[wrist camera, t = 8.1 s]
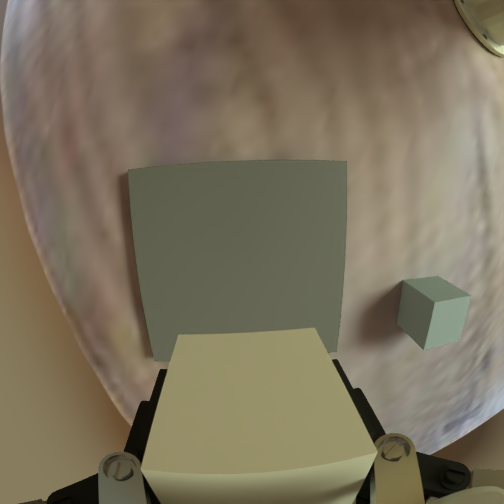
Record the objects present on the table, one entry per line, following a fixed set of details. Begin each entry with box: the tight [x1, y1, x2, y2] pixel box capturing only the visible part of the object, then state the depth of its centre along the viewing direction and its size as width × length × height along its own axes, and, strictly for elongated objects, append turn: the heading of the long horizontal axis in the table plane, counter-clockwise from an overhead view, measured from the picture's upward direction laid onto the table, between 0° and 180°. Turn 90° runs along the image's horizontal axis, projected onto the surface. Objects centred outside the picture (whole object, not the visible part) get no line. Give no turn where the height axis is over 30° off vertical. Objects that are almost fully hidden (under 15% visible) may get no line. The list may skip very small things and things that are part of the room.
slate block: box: [396, 276, 471, 350], centre depth 26 cm, size 5×5×6 cm
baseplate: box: [128, 160, 347, 361], centre depth 26 cm, size 18×18×2 cm
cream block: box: [141, 327, 378, 504], centre depth 8 cm, size 5×5×6 cm
